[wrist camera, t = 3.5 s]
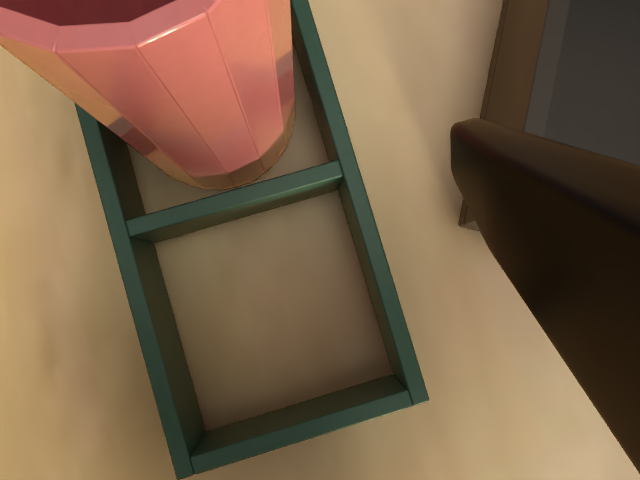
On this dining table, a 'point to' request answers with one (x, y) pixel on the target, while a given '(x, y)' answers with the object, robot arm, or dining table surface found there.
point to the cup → (170, 76)
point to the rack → (142, 230)
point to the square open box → (568, 76)
